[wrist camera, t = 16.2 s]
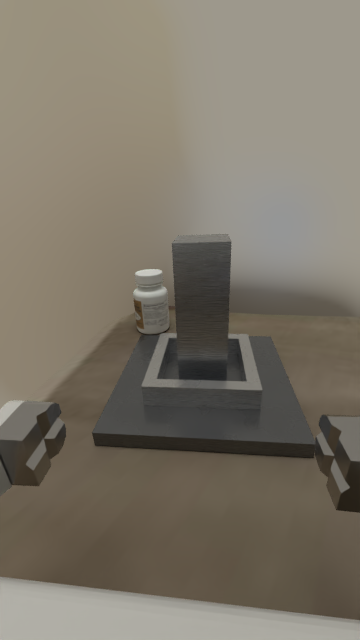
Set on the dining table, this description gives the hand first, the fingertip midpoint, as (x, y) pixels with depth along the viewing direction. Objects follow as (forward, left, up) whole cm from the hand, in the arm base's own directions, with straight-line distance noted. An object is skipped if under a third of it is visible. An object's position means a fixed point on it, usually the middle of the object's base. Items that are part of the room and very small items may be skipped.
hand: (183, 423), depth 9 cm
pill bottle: (+7, -27, -10) cm, 29 cm away
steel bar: (0, -15, -8) cm, 17 cm away
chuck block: (0, -15, -9) cm, 18 cm away
